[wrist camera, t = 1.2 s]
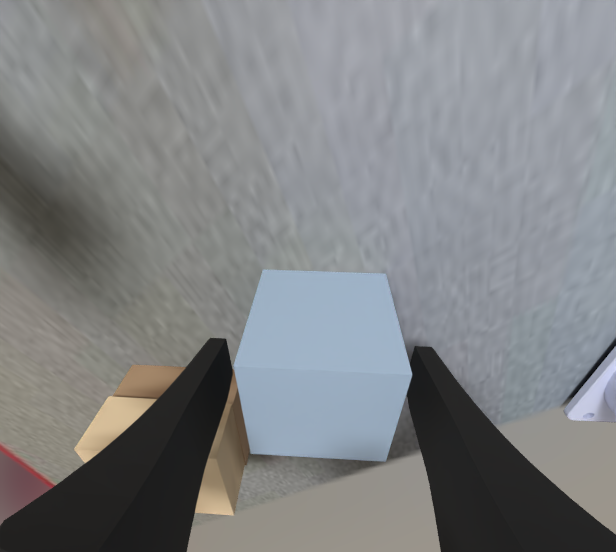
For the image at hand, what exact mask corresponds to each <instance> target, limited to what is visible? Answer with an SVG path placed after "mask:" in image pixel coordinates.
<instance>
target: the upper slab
mask: <svg viewBox="0 0 616 552" xmlns="http://www.w3.org/2000/svg"><path fill="white" fill-rule="evenodd" d="M156 400H157V399H145V398H128V397H112V396H109V397H108V398H107V400H106V401H105V403H104V404H103V406H102V407H101V409H100V410H99V412H98V413H97V415H96V417H95V418H94V420H93V421H92V423H91V424H90V426H89V427H88V429H87V430H86V432H85V433H84V435H83V436H82V438H81V440H80V441H79V443H78V444H77V446H76V447H75V449H74V450H75V451H76V452H77V454H78V455H79V456H80V457H81V458H82V460H83V461H84V462H85V463H86V462H88V461H89V460H90V459H92V458H93V457H94V456H95V455H97V454H98V453H99V452H100V451H102V450H103V449H104V448H105V447H106V446H108V445H109V444H110V443H111V442H112V441H113V440H115V439H116V438H117V437H118V436H119V435H120V434H122V433H123V432H124V431H125V430H126V429H127V428H128V427H129V426H130V425H132V424H133V423H134V422H135V421H136V420H137V419H138V418H139V417H140V416H141V415H142V414H143V413H144V412H145V411H146V410H147V409H148V408H149V407H150V406H151V405H152V404H153V403H154V402H155V401H156ZM244 465H245V463H244V459H243V454H242V449H241V444H240V440H239V435H238V430H237V426H236V421H235V416H234V412H233V407H232V404H228V403H226V406H225V409H224V412H223V415H222V418H221V421H220V424H219V427H218V430H217V433H216V436H215V439H214V442H213V445H212V448H211V451H210V454H209V457H208V460H207V463H206V467H205V470H204V475H203V479H202V483H201V487H200V491H199V496H198V500H197V504H196V509H195V513H209V514H222V515H234V513H235V508H236V503H237V499H238V494H239V489H240V484H241V480H242V475H243V470H244Z"/></svg>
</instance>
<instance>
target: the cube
mask: <svg viewBox="0 0 616 552" xmlns="http://www.w3.org/2000/svg"><path fill="white" fill-rule="evenodd" d="M234 371H235V376H236V381H237V386H238V391H239V396H240V401H241V406H242V411H243V417H244V422H245V427H246V432H247V437H248V442H249V447H250V452H251V454H265V455H282V456H298V457H315V458H332V459H349V460H366V461H383V462H386V459H387V456H388V452H389V449H390V446H391V443H392V439H393V436H394V433H395V430H396V426H397V423H398V420H399V417H400V413H401V410H402V407H403V404H404V400H405V397H406V394H407V391H408V387H409V384H410V381H411V378H412V371H411V368H410V364H409V360H408V356H407V352H406V349H405V345H404V341H403V337H402V333H401V330H400V326H399V322H398V318H397V314H396V311H395V307H394V303H393V299H392V295H391V292H390V288H389V284H388V280H387V276H386V274H375V273H347V272H318V271H290V270H263V272H262V275H261V278H260V282H259V285H258V288H257V291H256V295H255V298H254V301H253V304H252V308H251V311H250V314H249V317H248V321H247V324H246V327H245V330H244V334H243V337H242V340H241V343H240V347H239V350H238V353H237V356H236V360H235V363H234Z"/></svg>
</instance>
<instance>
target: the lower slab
mask: <svg viewBox="0 0 616 552" xmlns="http://www.w3.org/2000/svg"><path fill="white" fill-rule="evenodd" d="M185 368H186V367H170V366H148V365H132V366H131V368H130V370H129V371H128V373H127V374H126V376H125V377H124V379H123V381H122V382H121V384H120V385H119V387H118V388H117V390H116V392H115V393H114V395H113V396H112V397H128V398H145V399H158V398H159V397H160V396H161V395H162V394H163V393H164V392H165V391H166V390H167V388H168V387H169V386H170V385H171V384H172V383H173V382H174V381H175V380H176V378H177V377H178V376H179V375H180V374H181V373H182V371H183V370H184V369H185ZM232 370H233V376H232V381H231V386H230V391H229V395H228V399H227V402H226V403H228V404H232V407H233V412H234V416H235V421H236V426H237V430H238V435H239V440H240V444H241V449H242V454H243V459H244V463H245V465H247V461H248V456H249V451H250V447H249V442H248V437H247V432H246V427H245V422H244V417H243V411H242V406H241V401H240V396H239V391H238V386H237V381H236V376H235V371H234V369H232Z"/></svg>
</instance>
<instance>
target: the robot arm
mask: <svg viewBox="0 0 616 552" xmlns="http://www.w3.org/2000/svg"><path fill="white" fill-rule="evenodd" d="M410 368H411V371H412V378H411V381H410V384H409V387H408V391H407V397H408V403H409V409H410V412H411V416H412V420H413V424H414V427H415V431H416V435H417V438H418V442H419V445H420V449H421V453H422V456H423V460H424V464H425V467H426V471H427V475H428V480H429V483H430V490H431V495H432V501H433V506H434V512H435V517H436V524H437V529H438V536H439V542H440V548H441V552H616V535H615V534H614V533H613V532H612V531H610V530H609V529H608V528H606V527H605V526H604V525H602V524H601V523H600V522H599V521H597V520H596V519H595V518H594V517H593V516H591V515H590V514H589V513H587V512H586V511H585V510H584V509H583V508H582V507H580V506H579V505H578V504H577V503H575V502H574V501H573V500H572V499H570V498H569V497H568V496H567V495H566V494H565V493H564V492H563V491H561V490H560V489H559V488H558V487H557V486H556V485H555V484H554V483H552V482H551V481H550V480H549V479H548V478H547V477H546V476H545V475H544V474H542V473H541V472H540V471H539V470H538V469H537V468H536V467H535V466H534V465H532V464H531V463H530V462H529V461H528V460H527V459H526V458H525V457H524V456H523V455H522V454H521V453H520V452H519V451H518V450H517V449H516V448H515V447H514V446H513V445H512V444H511V443H510V442H509V441H508V440H507V439H506V438H505V437H504V436H503V435H502V433H500V431H499V430H498V429H497V428H496V427H495V426H494V425H493V424H492V423H491V421H490V420H489V419H488V418H487V417H486V416H485V415H484V413H483V412H482V411H481V410H480V409H479V408H478V406H477V405H476V404H475V403H474V402H473V400H472V399H471V398H470V397H469V395H468V394H467V393H466V392H465V390H464V389H463V388H462V387H461V385H460V384H459V383H458V382H457V380H456V379H455V378H454V376H453V375H452V374H451V372H450V371H449V370H448V368H447V367H446V366H445V364H444V363H443V362H442V360H441V359H440V357H439V356H438V355H437V353H436V352H435V350H434V349H433V348H432V347H419V346H415V348H414V352H413V355H412V359H411V362H410ZM232 376H233V370H232V365H231V360H230V356H229V351H228V346H227V341H226V339H221V338H210V339H209V340H208V341H207V342H206V343H205V345H204V346H203V347H202V348H201V350H200V351H199V352H198V353H197V355H196V356H195V357H194V358H193V360H192V361H191V362H190V363H189V364H188V366H187V367H186V368H185V369H184V370H183V371H182V373H181V374H180V375H179V376H178V377H177V378H176V380H175V381H174V382H173V383H172V384H171V385H170V386H169V387H168V388H167V390H166V391H165V392H164V393H163V394H162V395H161V396H160V397H159V398H158V399H157V400H156V401H155V402H154V403H153V404H152V405H151V406H150V407H149V408H148V409H147V410H146V411H145V412H144V413H143V414H142V415H141V416H140V417H139V418H138V419H137V420H136V421H135V422H134V423H133V424H132V425H130V426H129V427H128V428H127V429H126V430H125V431H124V432H123V433H122V434H120V435H119V436H118V437H117V438H116V439H115V440H113V441H112V442H111V443H110V444H109V445H108V446H106V447H105V448H104V449H103V450H102V451H100V452H99V453H98V454H97V455H95V456H94V457H93V458H92V459H90V460H89V461H88V462H86V463H85V464H84V465H82V466H81V467H80V468H78V469H77V470H76V471H74V472H73V473H72V474H71V475H69V476H68V477H67V478H65V479H64V480H63V481H61V482H60V483H59V484H57V485H56V486H54V487H53V488H52V489H50V490H49V491H47V492H46V493H44V494H43V495H41V496H40V497H39V498H37V499H35V500H34V501H33V502H31V503H30V504H28V505H27V506H25V507H24V508H23V509H21V510H19V511H18V512H17V513H15V514H14V515H12V516H10V517H9V518H7V519H6V520H4V522H3V523H2V524H1V526H0V552H187V547H188V541H189V536H190V532H191V527H192V523H193V518H194V514H195V509H196V504H197V500H198V496H199V491H200V487H201V483H202V479H203V475H204V470H205V467H206V463H207V460H208V457H209V454H210V451H211V448H212V445H213V442H214V439H215V436H216V433H217V430H218V427H219V424H220V421H221V418H222V415H223V412H224V409H225V406H226V402H227V399H228V395H229V391H230V386H231V381H232ZM564 413H565V414H566V416H567V418H569V419H571V420H581V421H600V422H616V346H615V347H614V349H613V350H612V351H611V352H610V353H609V355H608V356H607V357H606V358H605V360H604V361H603V362H602V363H601V364H600V366H599V367H598V368H597V369H596V371H595V372H594V373H593V374H592V375H591V377H590V378H589V379H588V380H587V382H586V383H585V384H584V385H583V386H582V388H581V389H580V390H579V391H578V393H577V394H576V395H575V396H574V397H573V399H572V400H571V401H570V402H569V403H568V405H567V406H566V407H565V409H564Z"/></svg>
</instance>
